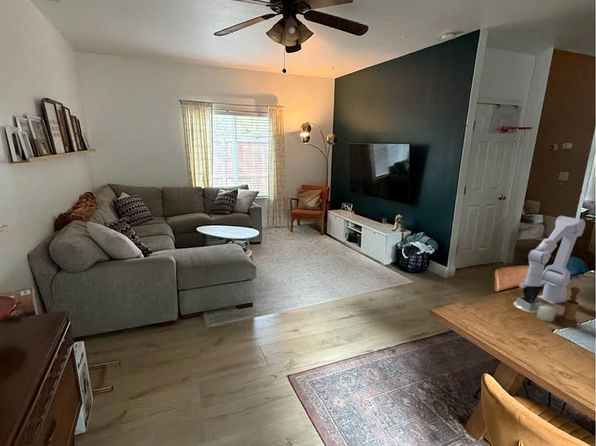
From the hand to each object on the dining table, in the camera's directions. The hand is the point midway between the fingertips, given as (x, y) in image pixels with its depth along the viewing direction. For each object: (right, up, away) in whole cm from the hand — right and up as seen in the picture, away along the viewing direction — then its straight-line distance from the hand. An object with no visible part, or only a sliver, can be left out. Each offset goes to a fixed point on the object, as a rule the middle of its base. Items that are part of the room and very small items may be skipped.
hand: (529, 299), depth 153 cm
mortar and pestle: (+7, -8, -13) cm, 17 cm away
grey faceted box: (0, -4, +2) cm, 4 cm away
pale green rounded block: (+1, -7, -9) cm, 11 cm away
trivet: (0, -4, +1) cm, 4 cm away
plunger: (0, -4, +1) cm, 4 cm away
